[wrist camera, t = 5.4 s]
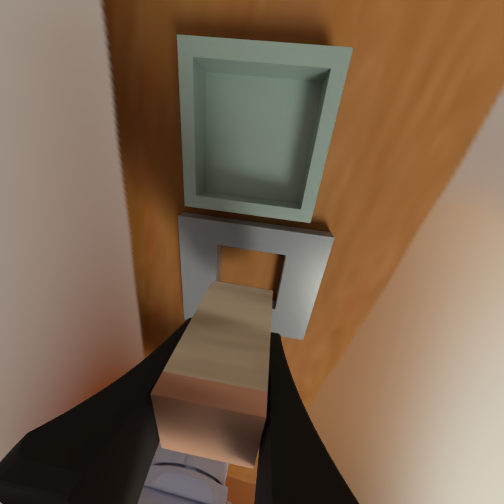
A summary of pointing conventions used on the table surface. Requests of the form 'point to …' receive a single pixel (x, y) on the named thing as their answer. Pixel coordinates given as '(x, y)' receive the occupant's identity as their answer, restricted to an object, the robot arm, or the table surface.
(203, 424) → the block
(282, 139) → the tray
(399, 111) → the table surface
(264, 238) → the holder board
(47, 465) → the robot arm
